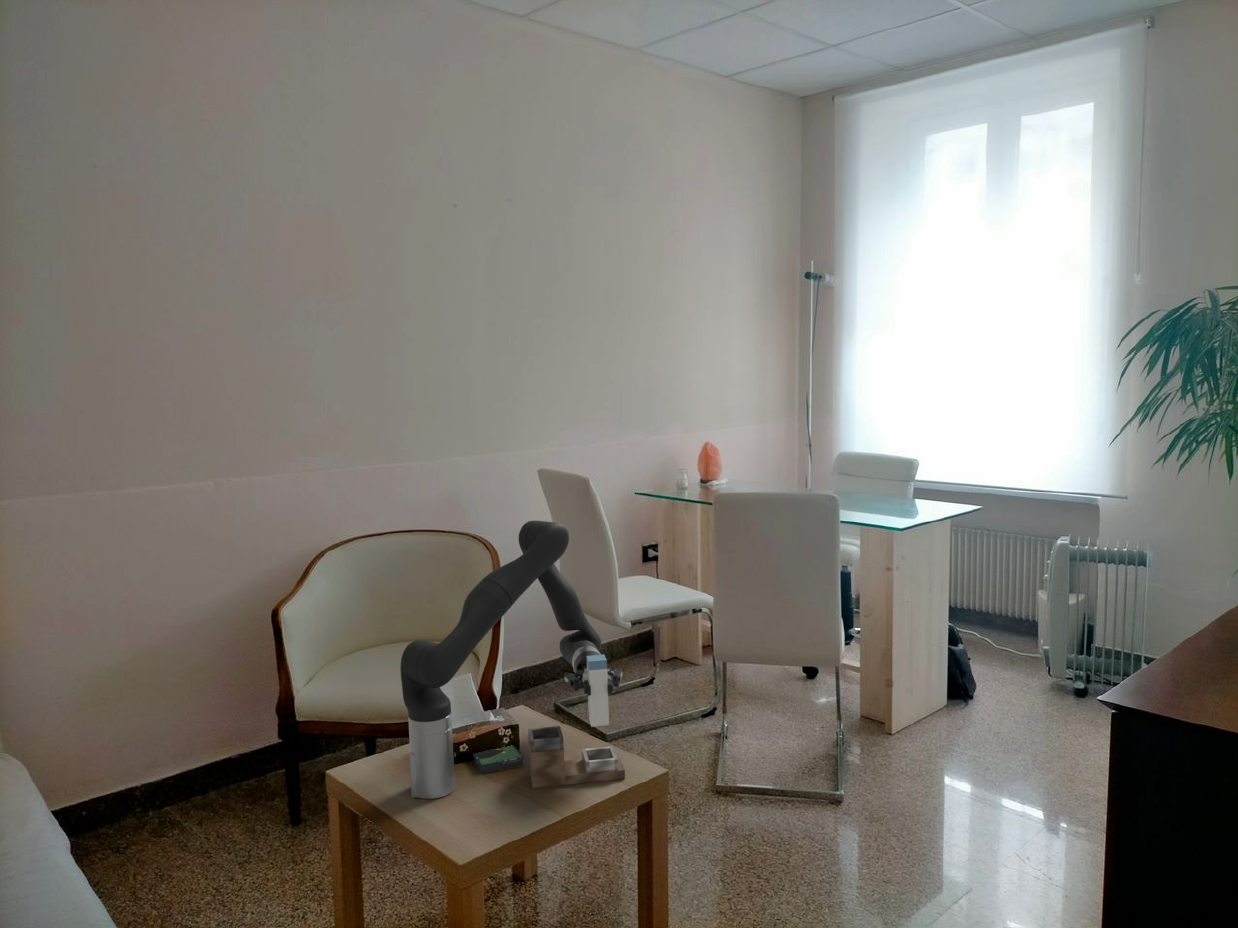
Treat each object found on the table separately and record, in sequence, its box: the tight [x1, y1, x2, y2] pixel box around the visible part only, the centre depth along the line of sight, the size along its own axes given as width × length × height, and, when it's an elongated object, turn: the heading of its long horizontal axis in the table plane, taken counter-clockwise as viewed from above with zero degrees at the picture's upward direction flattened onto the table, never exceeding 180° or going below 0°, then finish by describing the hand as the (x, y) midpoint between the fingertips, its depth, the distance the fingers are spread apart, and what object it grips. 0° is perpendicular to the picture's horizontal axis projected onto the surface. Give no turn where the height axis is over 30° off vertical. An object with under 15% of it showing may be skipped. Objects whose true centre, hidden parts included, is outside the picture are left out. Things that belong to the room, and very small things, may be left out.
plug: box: [587, 653, 610, 728], centre depth 209 cm, size 4×4×15 cm
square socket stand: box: [527, 725, 626, 789], centre depth 210 cm, size 21×8×10 cm, turn 100°
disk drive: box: [473, 744, 524, 775], centre depth 221 cm, size 10×3×15 cm
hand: (599, 690), depth 207 cm, fingers closed on plug, 4 cm apart
